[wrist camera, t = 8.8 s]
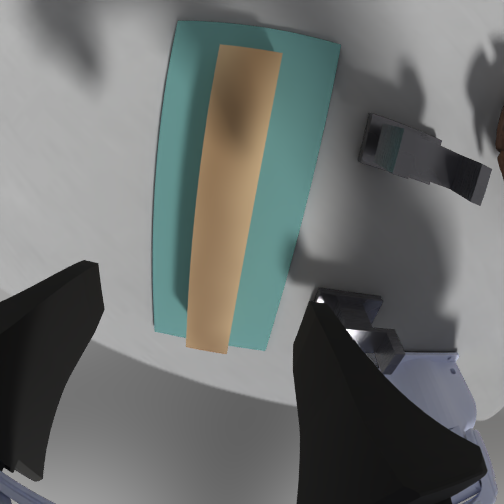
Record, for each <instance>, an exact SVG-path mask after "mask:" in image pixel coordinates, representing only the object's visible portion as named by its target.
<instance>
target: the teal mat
mask: <svg viewBox="0 0 504 504" xmlns="http://www.w3.org/2000/svg"><path fill="white" fill-rule="evenodd" d="M220 44H221V45H231V46H240V47H247V48H254V49H261V50H267V51H273V52H279V53H283V54H282V59H281V65H280V70H279V75H278V80H277V85H276V90H275V95H274V101H273V106H272V111H271V116H270V121H269V127H268V132H267V137H266V142H265V148H264V153H263V158H262V163H261V169H260V174H259V179H258V185H257V190H256V195H255V201H254V206H253V212H252V217H251V222H250V228H249V233H248V239H247V244H246V249H245V255H244V260H243V266H242V271H241V277H240V282H239V288H238V293H237V299H236V304H235V310H234V316H233V321H232V327H231V332H230V338H229V344H228V346H235V347H241V348H248V349H255V350H263V351H265V350H266V347H267V344H268V340H269V337H270V334H271V330H272V327H273V324H274V320H275V317H276V313H277V310H278V307H279V303H280V300H281V296H282V293H283V289H284V286H285V282H286V278H287V275H288V271H289V268H290V264H291V260H292V257H293V253H294V249H295V245H296V242H297V238H298V234H299V230H300V226H301V223H302V219H303V215H304V211H305V207H306V203H307V199H308V195H309V191H310V187H311V183H312V179H313V174H314V170H315V166H316V162H317V158H318V153H319V149H320V145H321V140H322V136H323V131H324V127H325V122H326V118H327V113H328V108H329V104H330V99H331V94H332V89H333V84H334V79H335V74H336V69H337V64H338V59H339V53H340V48H341V45H340V44H337V43H333V42H330V41H326V40H322V39H318V38H314V37H310V36H306V35H301V34H297V33H292V32H287V31H282V30H276V29H270V28H264V27H257V26H250V25H242V24H233V23H222V22H207V21H178V23H177V28H176V32H175V37H174V42H173V47H172V52H171V58H170V63H169V69H168V75H167V81H166V87H165V94H164V101H163V108H162V116H161V125H160V134H159V143H158V154H157V165H156V179H155V195H154V217H153V306H154V328H155V332H160V333H164V334H169V335H174V336H179V337H184V338H186V332H187V310H188V293H189V277H190V263H191V251H192V239H193V228H194V218H195V208H196V198H197V189H198V181H199V173H200V164H201V157H202V149H203V142H204V135H205V128H206V121H207V115H208V108H209V102H210V96H211V90H212V84H213V79H214V73H215V68H216V62H217V57H218V52H219V47H220Z"/></svg>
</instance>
